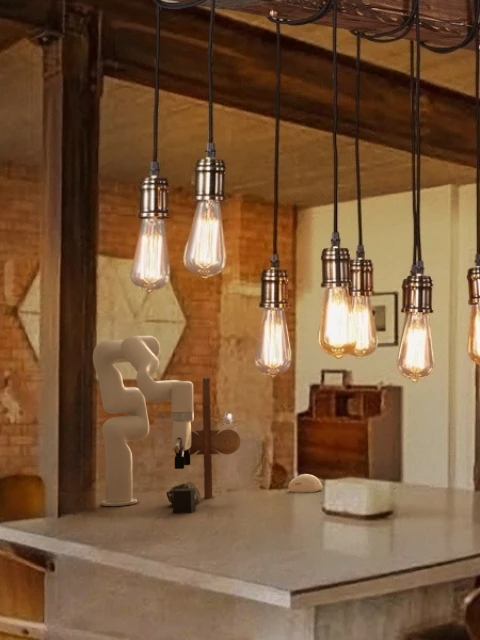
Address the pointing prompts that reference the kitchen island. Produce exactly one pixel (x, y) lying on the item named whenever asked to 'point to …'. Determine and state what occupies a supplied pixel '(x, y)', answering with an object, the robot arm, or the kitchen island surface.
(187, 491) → the pad
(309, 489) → the computer mouse
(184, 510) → the pad base
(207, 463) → the brown flat cross piece
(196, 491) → the rock
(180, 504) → the pad
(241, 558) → the kitchen island surface
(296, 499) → the kitchen island surface
